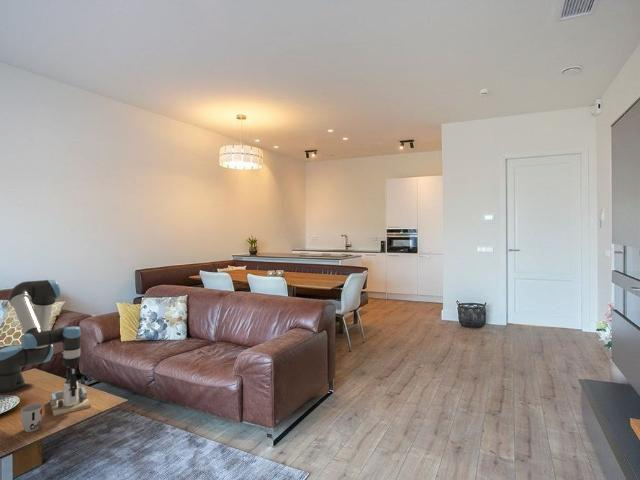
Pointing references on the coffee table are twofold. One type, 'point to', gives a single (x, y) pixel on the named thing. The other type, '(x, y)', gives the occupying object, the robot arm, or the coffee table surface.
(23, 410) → the cup
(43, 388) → the coffee table surface
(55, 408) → the base plate
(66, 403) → the can
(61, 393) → the grey frame
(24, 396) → the coffee table surface
